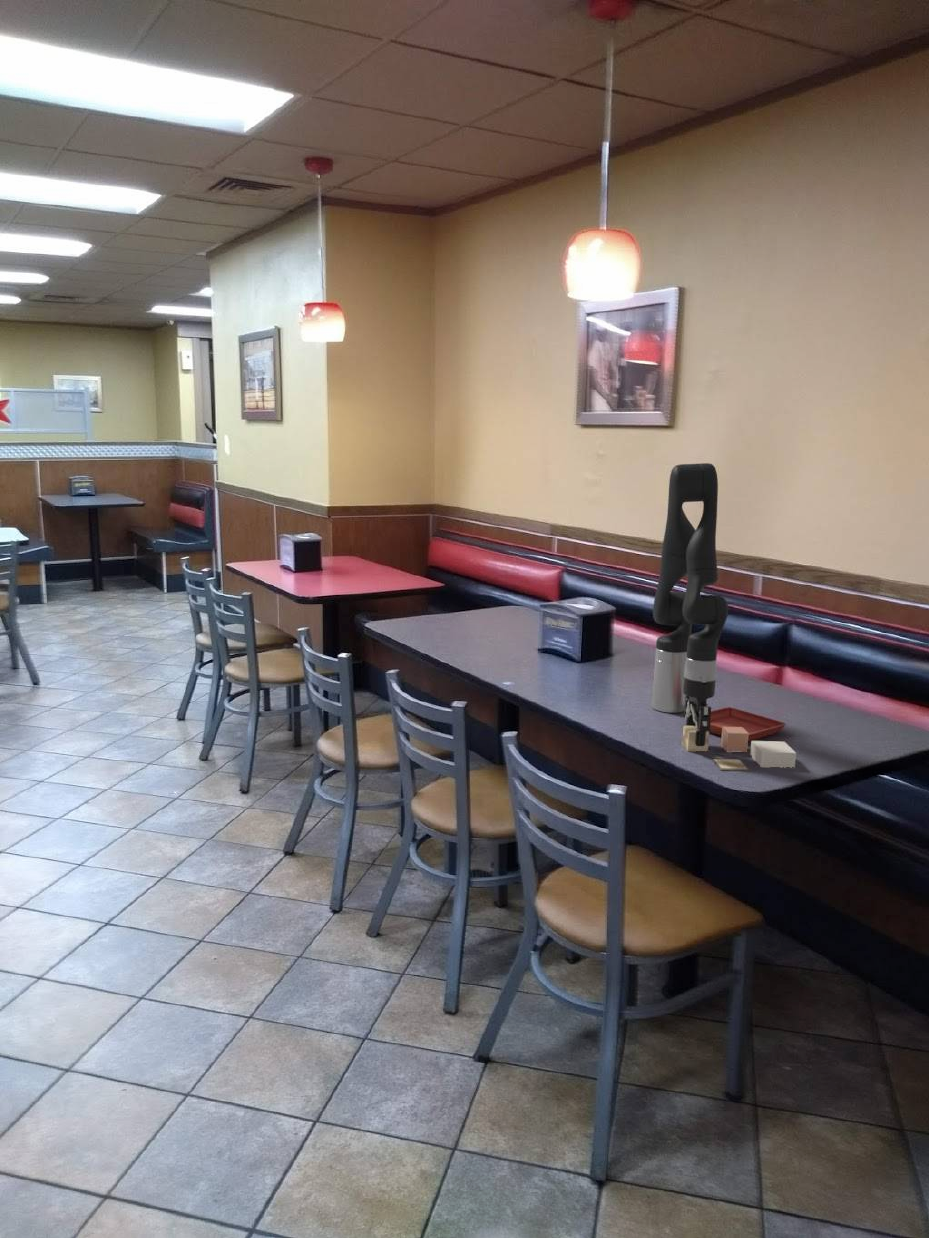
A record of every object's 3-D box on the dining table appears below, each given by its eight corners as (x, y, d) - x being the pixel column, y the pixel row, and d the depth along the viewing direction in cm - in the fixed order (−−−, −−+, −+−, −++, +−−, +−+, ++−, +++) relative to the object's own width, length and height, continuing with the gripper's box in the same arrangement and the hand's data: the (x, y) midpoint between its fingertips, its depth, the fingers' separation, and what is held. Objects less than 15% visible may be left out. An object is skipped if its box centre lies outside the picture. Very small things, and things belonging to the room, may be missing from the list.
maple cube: (682, 744, 230) (683, 725, 229) (701, 745, 230) (703, 725, 229) (687, 751, 225) (689, 732, 224) (707, 751, 226) (709, 732, 225)
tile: (711, 760, 219) (711, 758, 219) (739, 760, 220) (740, 758, 220) (720, 770, 213) (720, 768, 213) (749, 770, 213) (749, 769, 213)
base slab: (749, 756, 224) (751, 740, 223) (782, 757, 224) (784, 741, 223) (760, 768, 216) (762, 752, 215) (794, 769, 216) (796, 752, 215)
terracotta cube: (720, 745, 230) (722, 726, 229) (740, 746, 230) (742, 727, 229) (726, 752, 225) (728, 733, 224) (746, 753, 225) (748, 733, 224)
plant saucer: (728, 717, 255) (729, 705, 254) (786, 734, 241) (787, 722, 241) (686, 728, 244) (687, 716, 243) (745, 747, 230) (746, 735, 229)
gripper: (677, 668, 231) (672, 730, 234) (692, 683, 217) (687, 749, 220) (706, 669, 231) (701, 731, 234) (724, 684, 217) (718, 749, 220)
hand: (694, 740), depth 227 cm, fingers open, 8 cm apart
